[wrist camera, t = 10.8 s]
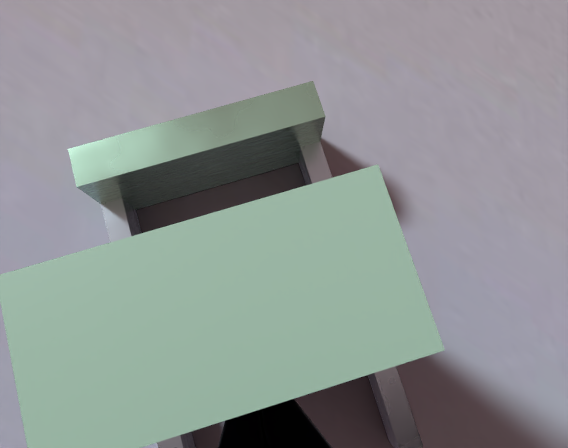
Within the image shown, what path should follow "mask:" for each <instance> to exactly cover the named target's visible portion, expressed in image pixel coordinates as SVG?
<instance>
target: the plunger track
mask: <svg viewBox="0 0 568 448" xmlns="http://www.w3.org/2000/svg"><path fill="white" fill-rule="evenodd" d="M324 121H325V114H324V111H323V108H322V105H321V102H320V100H319V97H318V94H317V91H316V88H315V85H314V82H313V81H311V82H308V83H304V84H300V85H297V86H293V87H290V88H286V89H282V90H279V91H275V92H272V93H268V94H264V95H261V96H257V97H254V98H250V99H246V100H243V101H239V102H236V103H232V104H228V105H225V106H221V107H218V108H214V109H210V110H207V111H203V112H200V113H196V114H192V115H189V116H185V117H182V118H178V119H174V120H171V121H167V122H164V123H160V124H156V125H153V126H149V127H146V128H142V129H138V130H135V131H131V132H128V133H124V134H120V135H117V136H113V137H110V138H106V139H102V140H99V141H95V142H92V143H88V144H84V145H81V146H77V147H74V148H70V149H68V151H69V156H70V160H71V164H72V169H73V173H74V178H75V182H76V186H77V188H79V189H80V190H82V191H83V192H84V193H86V194H87V195H89V196H90V197H92V198H93V199H94V200H96V201H97V202H99V203H100V204H101V206H102V211H103V215H104V219H105V223H106V227H107V232H108V236H109V240H110V242H114V241H117V240H121V239H124V238H128V237H131V236H134V235H138V234H141V233H142V232H141V228H140V224H139V220H138V216H137V212H136V209H140V208H143V207H147V206H150V205H154V204H157V203H161V202H164V201H168V200H171V199H175V198H178V197H182V196H185V195H188V194H192V193H195V192H199V191H202V190H206V189H209V188H213V187H216V186H220V185H223V184H227V183H230V182H234V181H237V180H241V179H244V178H247V177H251V176H254V175H258V174H261V173H265V172H268V171H272V170H275V169H279V168H282V167H286V166H289V165H293V164H296V163H299V165H300V168H301V171H302V174H303V177H304V181H305V184H306V185H309V184H313V183H316V182H320V181H323V180H326V179H330V178H332V175H331V172H330V169H329V166H328V163H327V160H326V157H325V154H324V151H323V148H322V145H321V142H320V140H321V135H322V130H323V126H324ZM368 378H369V381H370V384H371V387H372V390H373V393H374V396H375V399H376V402H377V405H378V408H379V411H380V414H381V418H382V421H383V424H384V427H385V430H386V433H387V436H388V439H389V442H390V443H391V444H392V445H393V446H394V447H395V448H420V447H423V445H422V442H421V439H420V436H419V433H418V430H417V427H416V424H415V421H414V418H413V415H412V412H411V409H410V406H409V403H408V400H407V397H406V394H405V391H404V388H403V385H402V382H401V379H400V376H399V373H398V370H397V368H396V366H394V367H391V368H388V369H385V370H382V371H379V372H376V373H372V374H369V375H368ZM157 444H158V448H195V444H194V440H193V436H192V432H188V433H185V434H182V435H179V436H176V437H172V438H169V439H166V440H163V441H160V442H157Z"/></svg>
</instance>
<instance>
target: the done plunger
mask: <svg viewBox="0 0 568 448" xmlns="http://www.w3.org/2000/svg"><path fill="white" fill-rule="evenodd" d="M0 303H1V308H2V313H3V319H4V324H5V329H6V335H7V340H8V346H9V351H10V356H11V362H12V367H13V372H14V378H15V383H16V389H17V394H18V399H19V405H20V410H21V415H22V421H23V426H24V432H25V437H26V442H27V448H141V447H144V446H147V445H151V444H154V443H157V442H160V441H163V440H166V439H169V438H172V437H176V436H179V435H182V434H185V433H188V432H191V431H194V430H197V429H201V428H204V427H207V426H210V425H213V424H216V423H219V422H222V421H226V420H229V419H232V418H235V417H238V416H241V415H244V414H247V413H251V412H254V411H257V410H260V409H263V408H266V407H269V406H272V405H276V404H279V403H282V402H285V401H288V400H291V399H294V398H297V397H301V396H304V395H307V394H310V393H313V392H316V391H319V390H322V389H326V388H329V387H332V386H335V385H338V384H341V383H344V382H347V381H351V380H354V379H357V378H360V377H363V376H366V375H369V374H372V373H376V372H379V371H382V370H385V369H388V368H391V367H394V366H397V365H400V364H404V363H407V362H410V361H413V360H416V359H419V358H422V357H425V356H429V355H432V354H435V353H438V352H441V351H444V347H443V344H442V341H441V338H440V336H439V333H438V330H437V327H436V325H435V322H434V319H433V316H432V313H431V311H430V308H429V305H428V302H427V299H426V297H425V294H424V291H423V288H422V286H421V283H420V280H419V277H418V274H417V272H416V269H415V266H414V263H413V260H412V258H411V255H410V252H409V249H408V246H407V244H406V241H405V238H404V235H403V233H402V230H401V227H400V224H399V221H398V219H397V216H396V213H395V210H394V207H393V205H392V202H391V199H390V196H389V194H388V191H387V188H386V185H385V182H384V180H383V177H382V174H381V171H380V168H379V166H378V165H374V166H371V167H368V168H364V169H361V170H357V171H354V172H350V173H347V174H344V175H340V176H337V177H333V178H330V179H326V180H323V181H320V182H316V183H313V184H309V185H306V186H302V187H299V188H296V189H292V190H289V191H285V192H282V193H278V194H275V195H272V196H268V197H265V198H261V199H258V200H254V201H251V202H248V203H244V204H241V205H237V206H234V207H230V208H227V209H224V210H220V211H217V212H213V213H210V214H206V215H203V216H200V217H196V218H193V219H189V220H186V221H182V222H179V223H176V224H172V225H169V226H165V227H162V228H158V229H155V230H152V231H148V232H145V233H141V234H138V235H134V236H131V237H128V238H124V239H121V240H117V241H114V242H110V243H107V244H104V245H100V246H97V247H93V248H90V249H86V250H83V251H80V252H76V253H73V254H69V255H66V256H62V257H59V258H56V259H52V260H49V261H45V262H42V263H38V264H35V265H32V266H28V267H25V268H21V269H18V270H14V271H11V272H8V273H4V274H1V275H0Z"/></svg>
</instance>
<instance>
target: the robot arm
mask: <svg viewBox="0 0 568 448" xmlns="http://www.w3.org/2000/svg"><path fill="white" fill-rule="evenodd" d="M218 448H332V447H331V446H330V445H329V443H328V442H327V441H326V439H325V438H324V437H323V436H322V434H321V433H320V432H319V431H318V429H317V428H316V427H315V425H314V424H313V423H312V422H311V420H310V419H309V418H308V416H307V415H306V414H305V413H304V411H303V410H302V409H301V408H300V406H299V405H298V404H297V402H296V401H295V400H294V399H291V400H288V401H285V402H282V403H279V404H276V405H272V406H269V407H266V408H263V409H260V410H257V411H254V412H251V413H247V414H244V415H241V416H238V417H235V418H232V419H229V420H226V421H225V423H224V427H223V431H222V434H221V438H220V442H219V446H218Z"/></svg>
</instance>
